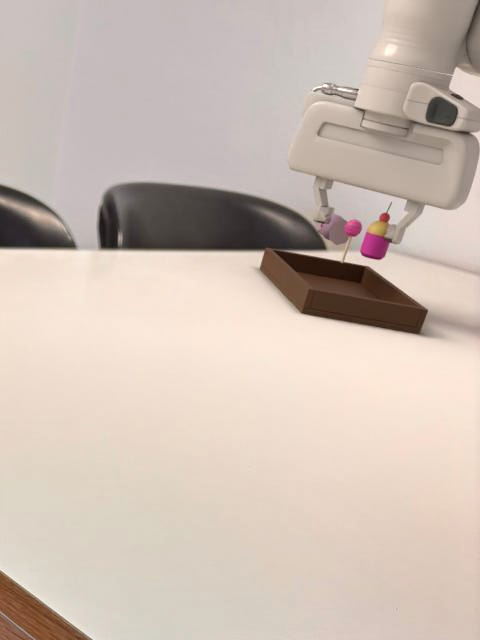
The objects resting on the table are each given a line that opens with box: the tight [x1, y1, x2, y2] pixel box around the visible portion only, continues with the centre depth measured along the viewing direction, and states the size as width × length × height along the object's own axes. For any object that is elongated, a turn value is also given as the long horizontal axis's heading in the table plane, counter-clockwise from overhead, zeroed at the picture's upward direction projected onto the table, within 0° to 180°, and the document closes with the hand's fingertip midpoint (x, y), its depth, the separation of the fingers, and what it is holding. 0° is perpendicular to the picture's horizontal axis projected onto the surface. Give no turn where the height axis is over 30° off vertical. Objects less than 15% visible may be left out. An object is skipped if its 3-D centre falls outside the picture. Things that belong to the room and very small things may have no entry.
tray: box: [259, 247, 429, 334], centre depth 124 cm, size 13×21×3 cm, turn 0°
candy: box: [315, 201, 393, 263], centre depth 121 cm, size 18×8×6 cm, turn 1°
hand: (356, 232), depth 121 cm, fingers closed on candy, 7 cm apart
